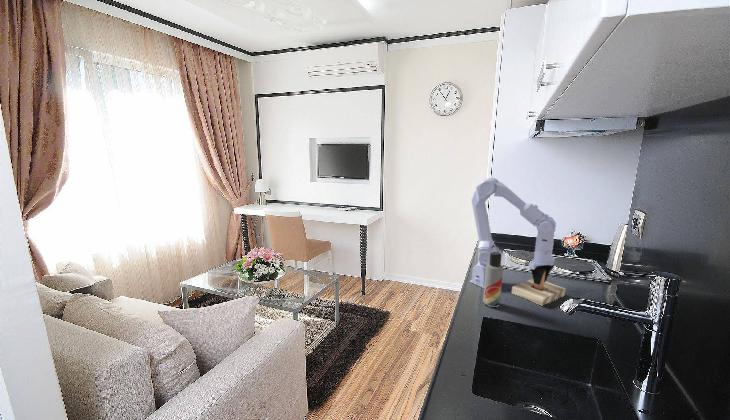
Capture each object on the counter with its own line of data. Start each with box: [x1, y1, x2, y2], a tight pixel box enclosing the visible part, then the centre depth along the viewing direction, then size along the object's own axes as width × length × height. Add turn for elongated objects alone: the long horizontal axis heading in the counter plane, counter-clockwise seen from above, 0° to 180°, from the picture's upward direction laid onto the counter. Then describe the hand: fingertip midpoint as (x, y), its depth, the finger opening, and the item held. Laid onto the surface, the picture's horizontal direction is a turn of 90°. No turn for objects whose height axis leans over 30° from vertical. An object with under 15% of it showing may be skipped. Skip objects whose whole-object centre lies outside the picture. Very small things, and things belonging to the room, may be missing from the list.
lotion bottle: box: [482, 251, 504, 306], centre depth 113 cm, size 6×6×20 cm
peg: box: [534, 271, 546, 291], centre depth 121 cm, size 3×3×8 cm
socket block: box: [511, 278, 567, 307], centre depth 122 cm, size 16×12×3 cm
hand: (539, 282), depth 121 cm, fingers closed on peg, 3 cm apart
